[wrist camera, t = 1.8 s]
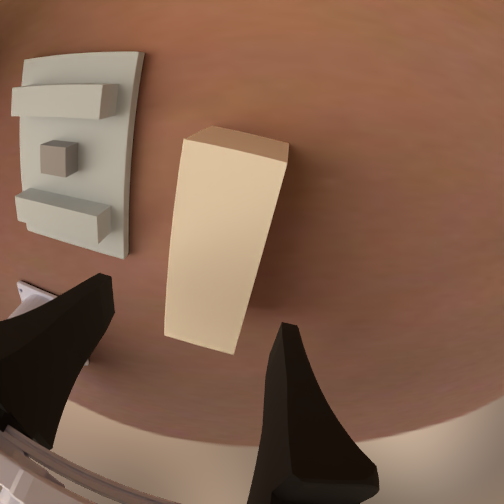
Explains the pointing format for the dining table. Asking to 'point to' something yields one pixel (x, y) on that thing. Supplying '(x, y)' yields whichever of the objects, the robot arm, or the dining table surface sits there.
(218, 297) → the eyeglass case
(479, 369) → the dining table surface
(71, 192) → the display stand
